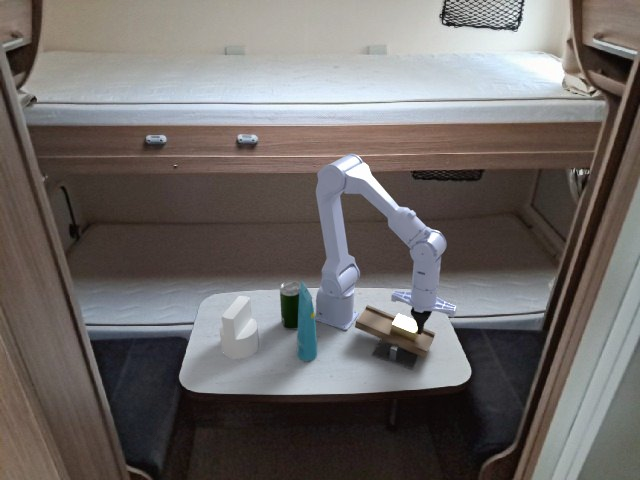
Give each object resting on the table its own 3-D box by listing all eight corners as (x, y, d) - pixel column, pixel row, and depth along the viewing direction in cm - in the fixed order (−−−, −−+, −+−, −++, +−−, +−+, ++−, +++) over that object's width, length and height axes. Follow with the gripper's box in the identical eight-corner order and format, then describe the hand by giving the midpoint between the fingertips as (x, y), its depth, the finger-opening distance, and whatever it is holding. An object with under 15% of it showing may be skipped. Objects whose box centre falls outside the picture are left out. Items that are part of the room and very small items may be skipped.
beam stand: (371, 356, 113) (372, 343, 111) (390, 324, 123) (391, 313, 121) (412, 369, 109) (413, 357, 107) (427, 336, 119) (429, 324, 117)
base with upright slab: (233, 330, 121) (228, 292, 115) (265, 338, 118) (262, 299, 112) (215, 354, 113) (209, 314, 108) (248, 362, 111) (244, 322, 105)
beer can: (288, 333, 120) (286, 295, 114) (277, 322, 124) (275, 284, 118) (306, 326, 122) (305, 288, 117) (295, 315, 126) (294, 278, 121)
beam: (353, 330, 115) (354, 322, 114) (366, 311, 122) (368, 303, 120) (423, 361, 109) (426, 353, 108) (433, 339, 116) (436, 331, 114)
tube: (322, 361, 111) (322, 294, 102) (304, 367, 109) (302, 300, 100) (309, 342, 117) (308, 277, 108) (291, 347, 115) (289, 282, 106)
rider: (389, 333, 113) (392, 323, 111) (395, 322, 116) (398, 313, 114) (413, 343, 111) (416, 334, 109) (419, 332, 114) (421, 323, 112)
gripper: (387, 284, 104) (385, 333, 111) (453, 301, 98) (446, 351, 105) (398, 269, 110) (395, 316, 116) (461, 284, 104) (454, 333, 110)
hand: (420, 331), depth 111 cm, fingers closed, pressing on rider
